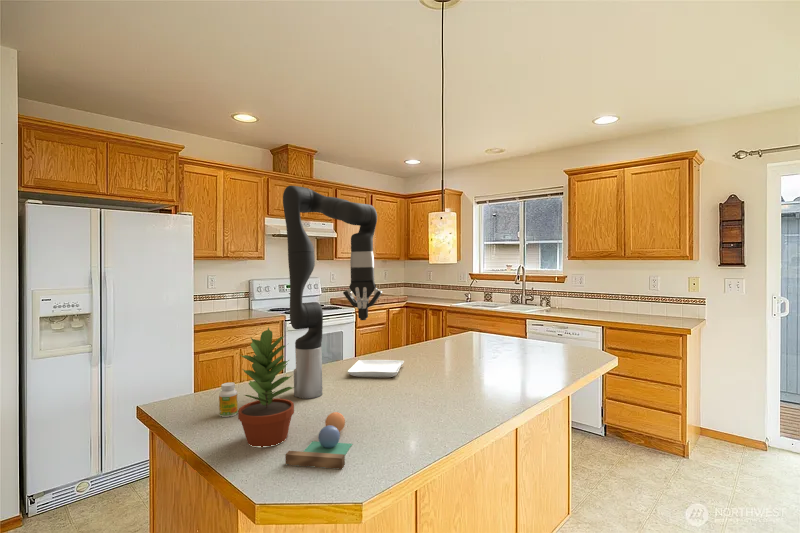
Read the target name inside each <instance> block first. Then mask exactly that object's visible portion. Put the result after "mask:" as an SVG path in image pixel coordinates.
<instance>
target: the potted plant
mask: <svg viewBox="0 0 800 533" xmlns="http://www.w3.org/2000/svg"><path fill="white" fill-rule="evenodd" d="M284 337H285V335H284V336H280V337H279V338H277V339H276V340H275V341H274V342H273V331H272V330H271V329H270V328H269V326H268V328H267V330H264V331H262V333H261V334H260V339H255V338H253V337H250V339H251V343H249V344H250V347H251V349H252V351H253V353H254V354H253V355H246V354H245V355H242V354H239V356H240V357H242V358H244V359H245V360H246V361H247V360H248V361H249V362H251V363H252V365H251V367H252V370H251V369H246V370H245V369H243V368H242V369H241V370H242V371H243V372H244V373H245V374H246V375H247V376H249V377H250V378H251V379H252V380H250V379H249V380H248V381H249V382H248V385H249V386H250V387H251V388H252V389H253V390H254V391H255V393H257V396H258V397H257V396H254V395H249V394H245V395H244V394H243V396H245V397H248V398H251V399H254V401H251V402H247V403H245V404H244V405H242V406H240V407H238V413H237V414H238V415H237V416H238V420H239V422H240V423H241V425H242V430H243V433H244V435H245V436H244V437H245V438H246V442H247V445H249V444H250V445H252V446H261V447H263V446H271V445H276V444H278V443H281V442H282V441H284V440H285V439H286V440H287V437H288V435H289V434H288V433H289V429H290V425H291V420H292V415H294V414H295V406H294V405H295V403H294V402H293V401H292V400H290V399H285V398H275V397H277V396H279V395H282V394H283V393H284V394H285V393H287V392H288V391H290V390H292V389H294V386H287V387H283V388H281V389H279V390H277V391H276V390H275V389H276V388H278V387H279V386H280V385H282V384H284V383H285V382H286V381H288V380H289V379H290V378H291V377H292V375H290V376H283V377H280V378H278V379H277V380H276V381H274V380H275V378H276V376H277V375H278V374H280V373H281V372H282V371H283V370H284V369H285V368H286V367H287V365H288V362H289V361H290V359H288V360H283V358H284V355H283V354H281V355H279V356H278V357H276V358H275V359H274V360H273V358H274V357H275V356H277V355H278V354H279V353H280V352H281V351H282V350H283V349H285V348H286V346H287V345H289V343H287V344H284V345H281V346H279V347H277V346H278V345H279V343H280V342H281V341H282V340H283V338H284ZM276 347H277V349H276ZM273 350H274V351H273ZM282 360H283V361H282ZM253 380H254V381H253ZM295 387H296V386H295ZM274 390H275V391H274ZM286 440H285V441H286ZM285 441H284V442H285ZM282 443H283V442H282ZM282 443H281V444H282ZM250 445H249V446H250ZM278 445H279V444H278ZM252 446H251V447H252ZM276 446H277V445H276Z"/></svg>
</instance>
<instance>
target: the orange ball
mask: <svg viewBox="0 0 800 533" xmlns="http://www.w3.org/2000/svg"><path fill="white" fill-rule="evenodd" d="M324 424H325V426H328V425H332V426H334V427H336V428H337V429H338V430H339V433H340V432H341V431H342V430H344V428H345V426H346V418H345V417H344V415H343V414H342V413H340V412H336V411H334V412H331V413H329V414H328V415H327V416H326V419H325V423H324Z"/></svg>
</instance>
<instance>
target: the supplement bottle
mask: <svg viewBox="0 0 800 533" xmlns="http://www.w3.org/2000/svg"><path fill="white" fill-rule="evenodd" d="M220 386H221V388H220V389H221V391H220V392H219V394H218V405H219V412H218V413H219V416H220V417H221V416H222V417H221V418H230V417H229V416H231V417H233V416H236V415H237V414H238V411H239V407H238V406H239V405H238V402H239V400H238V391H237V389H235V388H236V384H235V382H232V381H231V382H225V383H222V384H221V385H220Z"/></svg>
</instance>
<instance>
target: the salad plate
mask: <svg viewBox="0 0 800 533" xmlns="http://www.w3.org/2000/svg"><path fill="white" fill-rule="evenodd" d="M404 363H405V360H398V359H397V360H394V359H359V360H357V361H356V362H355V363H354V364H353V365H352V366H351V367H350V368H349V369H348V370H347V374H349V375H351V376H353V377H359V378H391V377H396V376H397V374H398V373H399V371H400V369H401V367H402V366H403V364H404Z"/></svg>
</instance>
